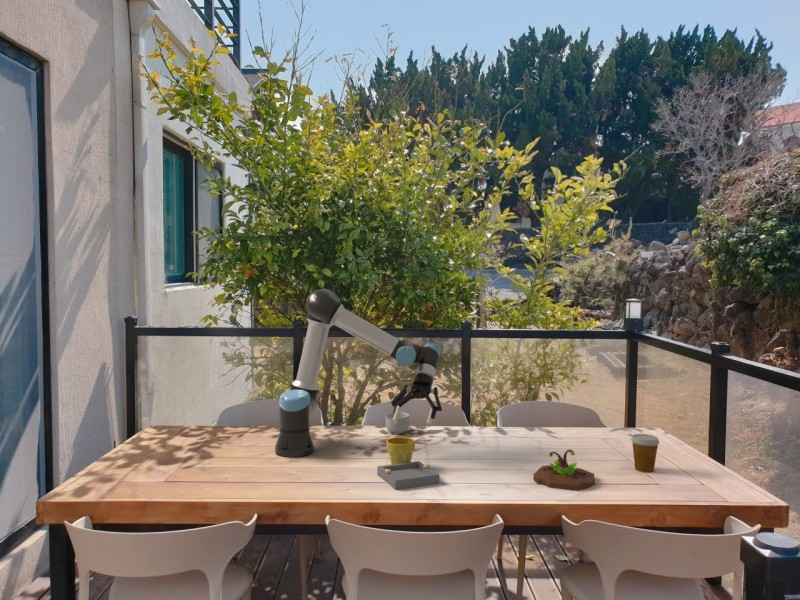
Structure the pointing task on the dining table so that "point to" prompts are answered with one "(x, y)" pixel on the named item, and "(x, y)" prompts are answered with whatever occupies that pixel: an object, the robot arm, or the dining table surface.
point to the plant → (564, 475)
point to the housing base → (408, 475)
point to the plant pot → (400, 449)
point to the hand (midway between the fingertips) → (411, 423)
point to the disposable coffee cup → (644, 451)
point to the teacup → (401, 423)
